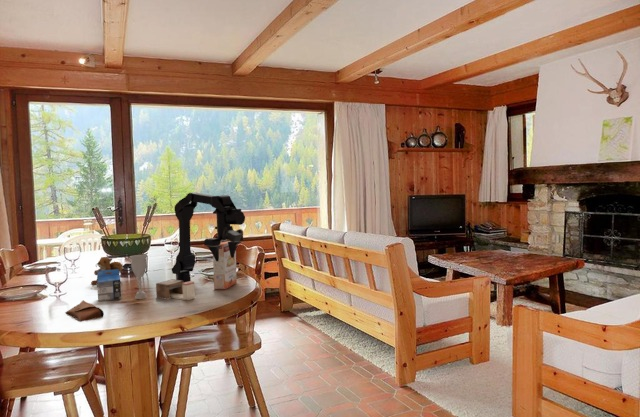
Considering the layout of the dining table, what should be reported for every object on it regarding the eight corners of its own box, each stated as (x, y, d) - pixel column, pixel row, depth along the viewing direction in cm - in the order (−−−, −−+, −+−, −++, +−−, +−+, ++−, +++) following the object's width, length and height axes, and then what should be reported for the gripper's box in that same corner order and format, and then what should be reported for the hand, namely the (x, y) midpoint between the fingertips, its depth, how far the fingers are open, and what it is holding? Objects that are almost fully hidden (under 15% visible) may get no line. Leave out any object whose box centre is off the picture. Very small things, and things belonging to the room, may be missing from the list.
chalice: (153, 295, 196) (150, 255, 195) (142, 300, 190) (139, 257, 188) (139, 294, 198) (137, 254, 197) (128, 299, 192) (125, 257, 191)
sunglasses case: (62, 312, 174) (71, 296, 176) (80, 318, 179) (88, 301, 181) (80, 322, 162) (89, 304, 164) (98, 327, 166) (106, 310, 168)
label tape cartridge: (98, 301, 189) (96, 272, 188) (98, 299, 192) (96, 271, 192) (121, 298, 193) (119, 270, 192) (120, 296, 196) (119, 268, 196)
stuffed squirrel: (89, 285, 221) (87, 258, 220) (112, 278, 234) (110, 253, 233) (104, 286, 217) (102, 259, 216) (127, 280, 230) (125, 254, 229)
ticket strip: (163, 296, 195) (162, 280, 194) (171, 294, 198) (170, 278, 198) (187, 300, 187) (186, 283, 186) (195, 298, 190) (194, 281, 190)
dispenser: (156, 297, 194) (155, 283, 193) (173, 292, 201) (172, 279, 201) (167, 299, 190) (166, 285, 190) (184, 294, 197) (183, 280, 197)
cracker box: (226, 290, 203) (224, 244, 202) (213, 289, 204) (211, 243, 203) (237, 282, 217) (236, 239, 215) (226, 282, 218) (224, 239, 217)
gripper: (221, 227, 185) (223, 264, 186) (251, 222, 201) (253, 257, 202) (202, 226, 191) (204, 262, 192) (233, 221, 207) (234, 255, 208)
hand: (225, 259), depth 198 cm, fingers open, 9 cm apart
